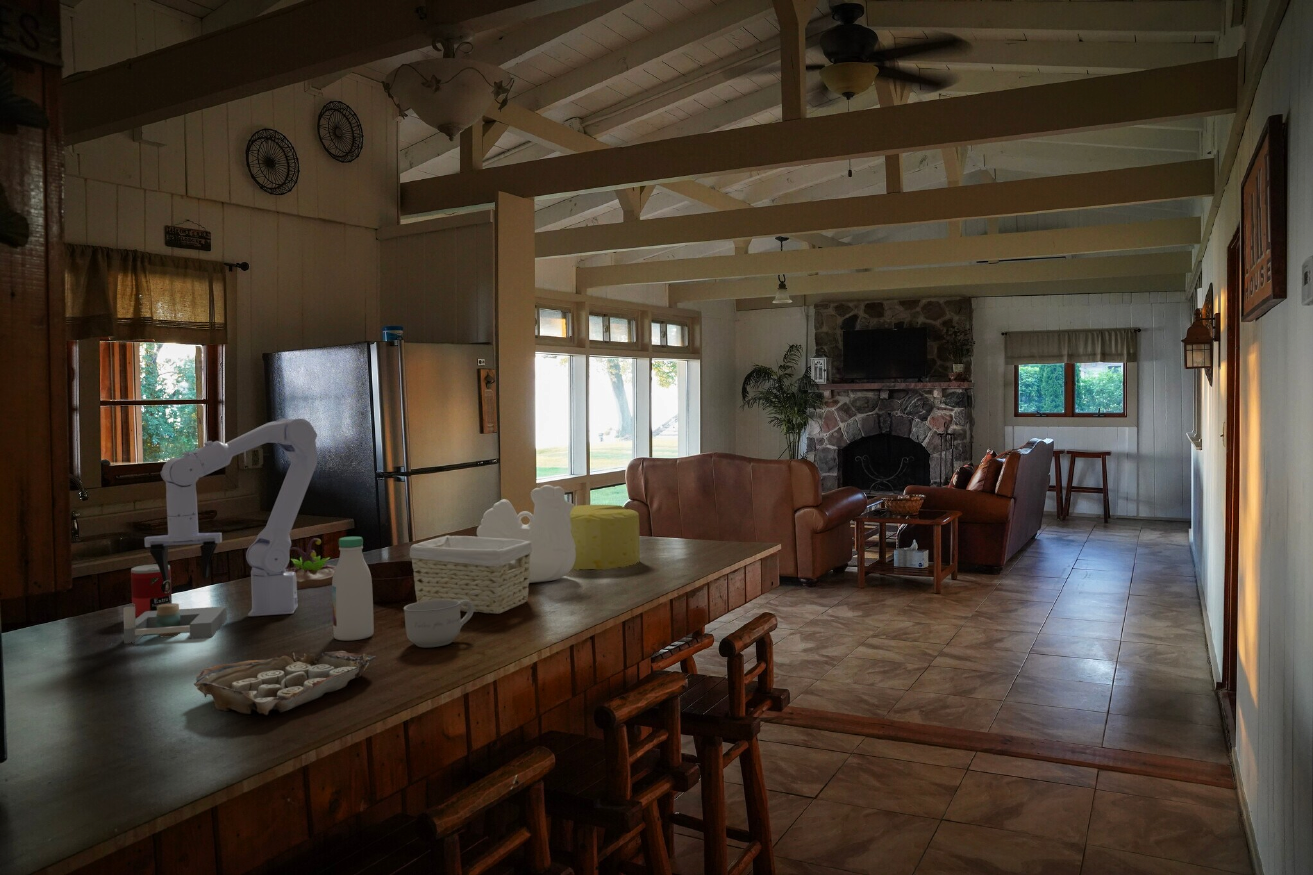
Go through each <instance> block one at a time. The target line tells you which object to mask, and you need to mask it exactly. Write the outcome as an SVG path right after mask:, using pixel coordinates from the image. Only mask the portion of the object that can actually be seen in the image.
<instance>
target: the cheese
mask: <svg viewBox="0 0 1313 875" xmlns="http://www.w3.org/2000/svg"><path fill="white" fill-rule="evenodd" d="M570 515H571V518H570V522H571V530H570V532H571V534H572V537H573V540H574V543H575V546H576V547H575V552H576V558H575V563H574V565H573V567H572V569H603V570H610V569H609V568H615V569H618V568H617V567H621V568H627V567H630V566H629V565H631V566H634V565H637V564H638V563H640V562H641V555H640V553H641V552H640V551H641V549H640V514H639V512H638V511H636V510H633V509H629V508H628V509H626V508H625V507H624V506H622V505H617V504H616V505H615V504H585V505H584V504H582V505H574V507H573V509H572V510H571V512H570ZM639 561H640V562H639ZM637 562H638V563H637ZM636 563H637V564H636ZM633 564H634V565H633ZM626 566H627V567H626ZM572 569H571V570H572Z"/></svg>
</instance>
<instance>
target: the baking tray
mask: <svg viewBox="0 0 1313 875" xmlns="http://www.w3.org/2000/svg"><path fill="white" fill-rule="evenodd" d="M376 658H377V656H376V655H373V656H372V654H367V653H354V652H351V653H350V652H347V651H345V650H338V651H336V650H335V651H324V652H321V654H320V655H318V656H316V654H315V653H312V654H311V653H310V654H306V653H304V654H303V657H300V656H299V655H296V654H295V651H292V652H291V657H290V656H287V655H282V656H280V657H271V658H267V659H259V660H257V659H255V660H244V661H238V662H235V663H224V664H217V665H214V666H212V667H211V666H210V667H206V668H204V669H203V670H200V671H199V674H198V675H197V676H196V678H195V682H194V683H193V685H194V686H195V687H196V690H198V691H199V692H200V693H202V694H203V695H204V698H206V697H208V695H211V696H212V699H213V701H214V702H213V704H214V707H215V709H216V710H219V711H225V712H229V711H230V710H234V711H236V712H238V713H240V714H244V715H246V714H247V715H251V713H252V711H254V712H255V713H256V712H258V714H263V715H265V716H267V715H269V711H271V710H277V711H278V712H279V713H284V712H287V711H289V710H292V709H295V708H296V707H298V706H302V705H303V704H306V703H309V702H311V701H314V700H316V699H319V698H321V697H322V696H323V695H324V694H326V693H333V692H335V691H336V692H337V691H338V690H340V689H343V688H345V687H346V686H348V683H349V682H350V681H351V680H353V679H358V678H360V677H361V676H362V673H363V672H364V671H365V670H366V669H367V667H368V666H369V665H370V663H371V662H372V661H373V660H374V659H376Z"/></svg>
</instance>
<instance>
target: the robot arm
mask: <svg viewBox="0 0 1313 875" xmlns="http://www.w3.org/2000/svg"><path fill="white" fill-rule="evenodd" d="M317 437H318V433H317V432H316V430H315V428H314V426H313V425H312V423H310V421H308V420H307V419H306V418H305V419H304V418H287V417H285V418H284V417H282V418H279V419H277V420H275V421H270V422H266V423H265V424H263V425H260V426H258V427H256V428H253V429H252V430H250V431H248V432H246V433H244V434H241V435H239V436H237V437H236V438H233V439H231V440H229V441H228V442H225V443H224V442H222V441H219V440H215V441H212V440H208V441H206V442H204V444H203V445H204V446H202V447H199V448H196V449H195V450H192V451H188V450H186V451H184V452H182V455H183V456H182V457H172V458H170V459H168V460H167V461H166V462H165V463H164V464H163V465H162V466H163V467H162V469H161V471H160V476H161V478H162V480H163V481H164V482H165V489H166V491H165V492H166V494H165V496H166V498H165V499H166V517H167V518H166V519H167V534H165V535H163V534H162V535H153V536H146V537H144V539H143V540H144V547H145V548H150V549H149V552H150V555H151V556H152V558H153V559H154V561H155V562H156V564H157V565H158V567H159V569H160V572H161V575H162V579H163V581H166V580H168V579H169V570H168V565H169V564H168V563H169V560H168V558H169V557H168V556H169V555H168V554H169V546H179V545H180V546H181V545H196V544H197V545H199V544H201V545H200V546H199V547H200V554H201V555H200V556H201V561H202V562H201V563H202V564H201V566H202V570H201V571H202V572H201V573H202V574H201V575H202V579H207V578H208V577H209V573H210V572H209V571H210V565H211V562H212V558H213V556H214V554H215V551H216V548H217V547H218V544H220V543H222V542H223V535H222V533H223V532H199V516H198V498H197V497H198V495H197V494H198V493H197V486H196V484H197V482H198V481H199V479H200V478H202V477H205V476H207V475H209V474H212V473H213V472H215V471H218V470H220V469H223V468H225V467H227V466H229V465H230V464H231V462H232V459H233V457H235V456H238V455H240V454H242V453H245V452H247V451H250V450H252V449H254V448H257V447H259V446H261V445H264V444H267V443H271V444H272V443H275V444H277V445H278V446H279V447H280V448H281V449H282V450H283V451H284V452H285V454H286V456H287V458H288V459H289V461H290V464H289V467H288V469H287V472H286V475H285V478H284V480H283V482H282V485H281V488H280V490H279V493H278V495H277V498H276V500H275V502H274V505H273V507H272V510H271V513H270V516H269V517H268V520H267V523H266V526H265V527H264V528H263V529H262V530H261V531H260V532H259V533H258V534H257V537H256V538H255V540H254V542H253V543H252V544H251V545H249V547H248V548H247V551H246V552H245V555H246V556H245V558H246V561H247V564H248V565H249V566H250V567H251V570H250V578H251V579H250V582H251V610H250V611H249V612H248V614H247V617H260V616H261V617H263V616H275V615H277V616H278V615H290V614H291V615H292V614H294V613H295V611H296V610H297V608H298V606H299V604H298V589H297V580H296V573H295V572H286V567H287V568H288V565H289V563H290V560H291V558H290V555H289V550H290V549H291V548H292V540H291V536H290V533H291V532H292V529H293V526H294V523H295V521H296V518H297V515H298V514H299V510H300V508H301V506H302V503H303V500H304V498H305V495H306V492H307V490H308V487H309V485H310V482H311V480H312V477H313V474H314V472H315V469H316V467H317V464H318V453H317V452H318V451H317V442H316V439H317Z"/></svg>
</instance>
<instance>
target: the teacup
mask: <svg viewBox="0 0 1313 875" xmlns="http://www.w3.org/2000/svg"><path fill="white" fill-rule="evenodd" d="M463 605H467V606H468V612H466V613H465V615H464V616H463V618H461V611H460V609H461V607H462V606H463ZM403 612H404V623H405V633H406V637H407V639H408V640H409V641H410V642H412V643H413V644H415V645H416V646H417V647H418V648H427V649H428V648H437V647H442V646H443V647H444V646H447V645H449V644H451V643H452V642H453V641H454V640H455V638H457V637H458V636H459V634H460V632H461V629H462V627H463V626H464V624H466V623H467V622H468V621H469V620H470V619H471V618H472V617H473V614H474V613H475V612H474V606H473V604H472V603H471V602H470V601H469V600H461V601H457V600H450V599H442V600H430V601H422V602H417V601H416V602H414V603H413V602H412V603H409V604H407V605H405V606H404V607H403Z"/></svg>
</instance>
